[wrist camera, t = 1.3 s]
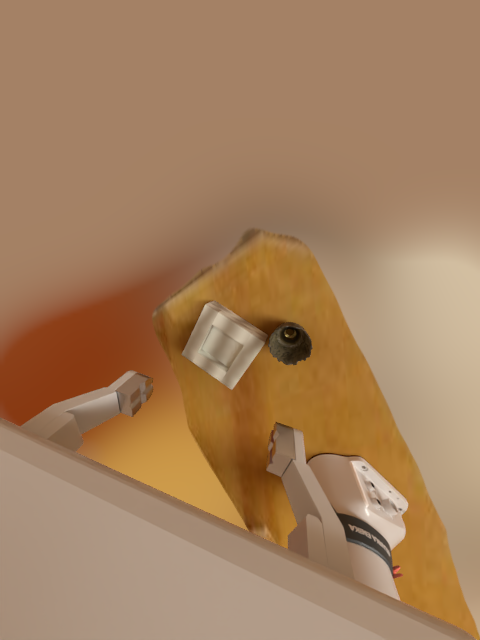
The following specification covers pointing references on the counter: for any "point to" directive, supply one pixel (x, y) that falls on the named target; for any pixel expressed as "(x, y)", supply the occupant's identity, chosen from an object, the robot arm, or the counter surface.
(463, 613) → the counter surface
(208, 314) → the white recessed square tray
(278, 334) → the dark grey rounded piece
